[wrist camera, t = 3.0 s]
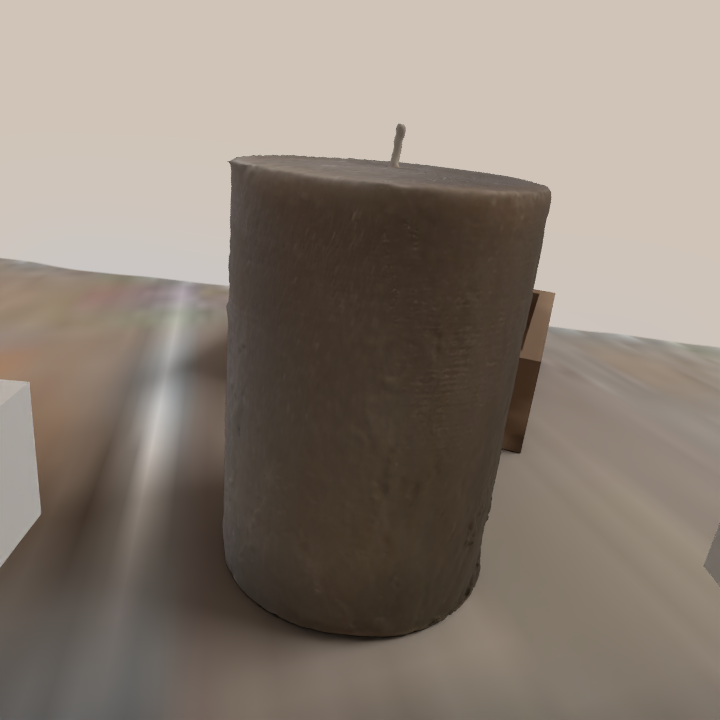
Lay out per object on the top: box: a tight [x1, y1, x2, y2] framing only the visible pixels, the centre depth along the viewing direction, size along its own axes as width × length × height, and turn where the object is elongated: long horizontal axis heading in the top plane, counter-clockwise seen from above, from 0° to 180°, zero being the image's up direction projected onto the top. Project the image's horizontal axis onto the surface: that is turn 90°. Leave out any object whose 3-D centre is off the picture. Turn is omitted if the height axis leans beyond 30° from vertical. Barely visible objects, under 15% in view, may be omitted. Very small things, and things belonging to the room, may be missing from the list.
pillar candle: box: [223, 124, 551, 637], centre depth 21 cm, size 10×10×15 cm
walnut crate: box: [502, 289, 555, 453], centre depth 40 cm, size 15×15×5 cm
